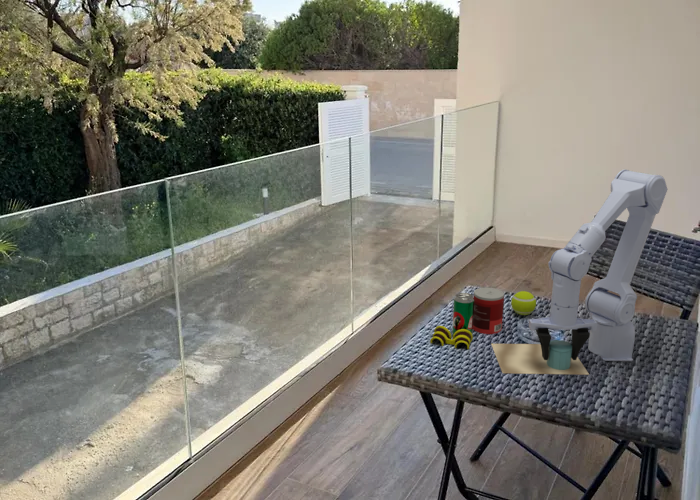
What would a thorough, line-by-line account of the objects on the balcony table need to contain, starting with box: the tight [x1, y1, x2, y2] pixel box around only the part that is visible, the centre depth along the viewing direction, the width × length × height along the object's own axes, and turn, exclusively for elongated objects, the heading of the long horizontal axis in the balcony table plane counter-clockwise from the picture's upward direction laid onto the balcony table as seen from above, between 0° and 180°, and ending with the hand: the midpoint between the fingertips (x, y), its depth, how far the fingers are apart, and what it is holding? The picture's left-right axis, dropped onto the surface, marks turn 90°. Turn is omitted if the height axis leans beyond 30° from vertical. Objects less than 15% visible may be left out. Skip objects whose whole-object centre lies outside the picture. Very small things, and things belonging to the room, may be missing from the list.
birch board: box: [491, 343, 590, 376], centre depth 143 cm, size 19×15×1 cm
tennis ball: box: [510, 290, 537, 316], centre depth 170 cm, size 7×7×7 cm
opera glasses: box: [430, 325, 474, 350], centre depth 151 cm, size 10×5×5 cm, turn 68°
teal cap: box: [547, 339, 572, 370], centre depth 139 cm, size 5×5×5 cm
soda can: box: [451, 292, 474, 337], centre depth 154 cm, size 5×5×12 cm
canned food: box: [473, 287, 505, 335], centre depth 159 cm, size 8×8×11 cm
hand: (559, 358), depth 140 cm, fingers open, 6 cm apart
